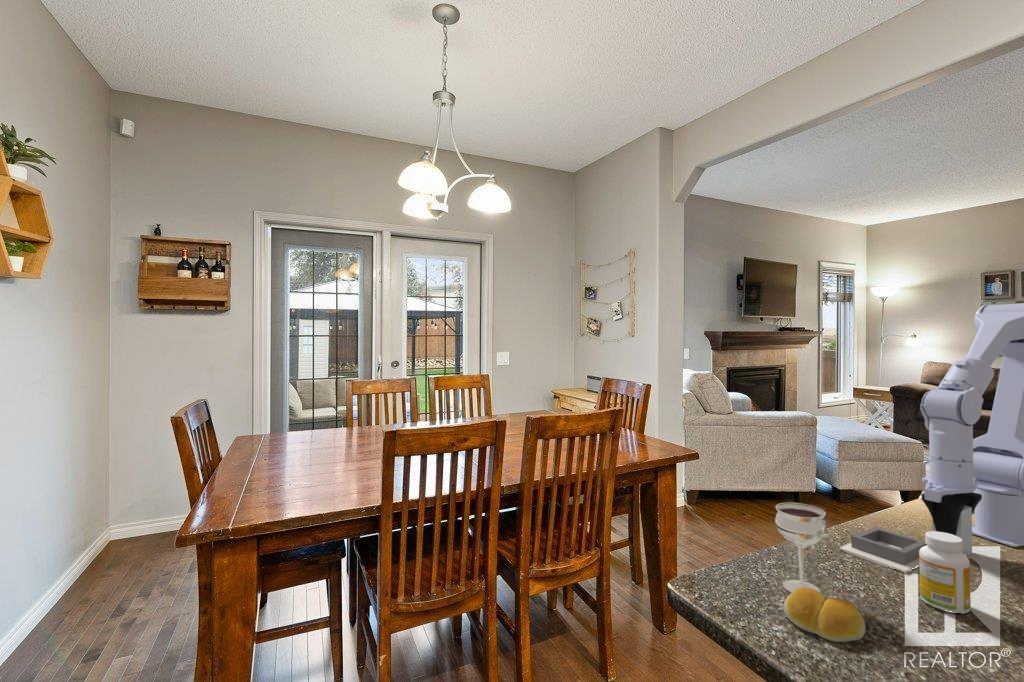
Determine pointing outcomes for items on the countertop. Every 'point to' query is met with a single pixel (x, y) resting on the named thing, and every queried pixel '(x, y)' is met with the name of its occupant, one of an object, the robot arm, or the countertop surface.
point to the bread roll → (824, 615)
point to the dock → (885, 548)
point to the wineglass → (800, 533)
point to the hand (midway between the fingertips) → (952, 535)
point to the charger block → (964, 529)
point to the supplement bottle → (944, 573)
